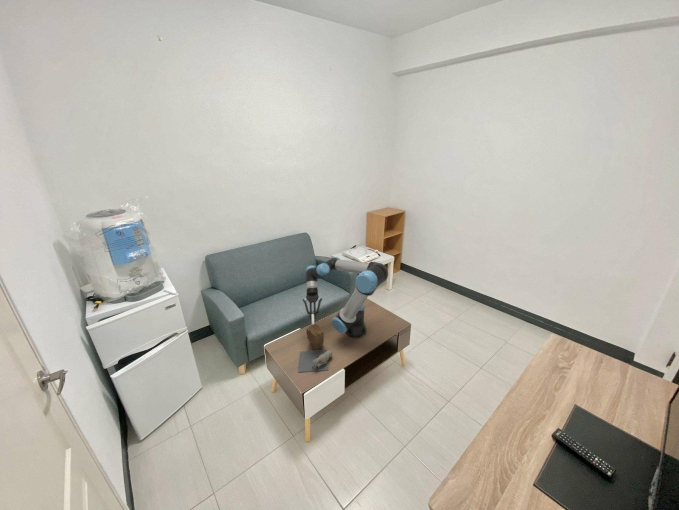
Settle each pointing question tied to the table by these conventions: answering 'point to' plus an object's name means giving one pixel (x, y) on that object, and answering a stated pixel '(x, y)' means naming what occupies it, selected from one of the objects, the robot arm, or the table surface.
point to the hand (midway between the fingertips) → (313, 324)
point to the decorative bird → (322, 358)
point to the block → (315, 335)
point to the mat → (311, 361)
